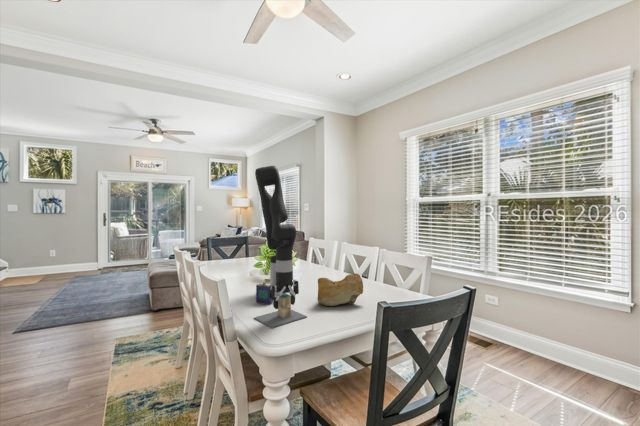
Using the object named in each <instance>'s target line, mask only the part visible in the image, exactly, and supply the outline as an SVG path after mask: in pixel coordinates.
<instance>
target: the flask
mask: <svg viewBox="0 0 640 426" xmlns="http://www.w3.org/2000/svg"><path fill="white" fill-rule="evenodd" d="M269 288H270V284H267V281H262V283H258V284H256V285H255V289H256V290H255V296H256V297H255V303H256V304H264V305H265V304H267V305H271V304H273V300H272V299H269Z"/></svg>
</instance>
